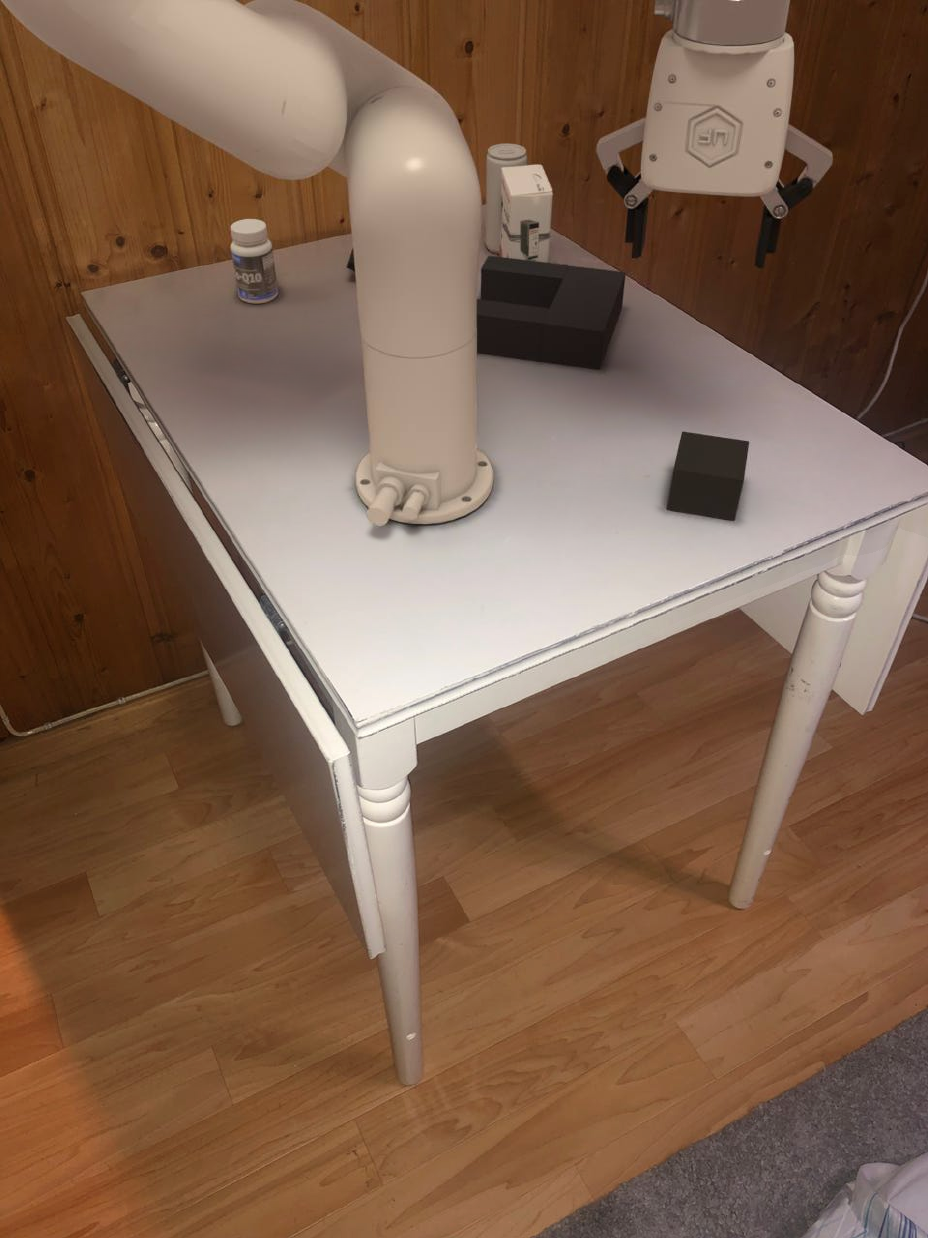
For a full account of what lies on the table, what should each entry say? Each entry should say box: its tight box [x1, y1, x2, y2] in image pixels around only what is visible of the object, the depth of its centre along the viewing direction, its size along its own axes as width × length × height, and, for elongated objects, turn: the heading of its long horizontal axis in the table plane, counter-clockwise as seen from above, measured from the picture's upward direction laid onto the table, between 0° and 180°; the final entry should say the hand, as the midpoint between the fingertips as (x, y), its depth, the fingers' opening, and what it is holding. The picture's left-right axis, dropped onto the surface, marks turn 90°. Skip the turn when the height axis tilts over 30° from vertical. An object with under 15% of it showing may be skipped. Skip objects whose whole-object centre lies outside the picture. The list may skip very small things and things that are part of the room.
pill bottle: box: [230, 218, 279, 305], centre depth 117 cm, size 5×5×8 cm
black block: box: [666, 431, 750, 522], centre depth 91 cm, size 6×6×4 cm
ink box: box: [499, 164, 554, 263], centre depth 119 cm, size 9×5×12 cm, turn 6°
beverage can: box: [485, 143, 528, 255], centre depth 125 cm, size 5×5×12 cm
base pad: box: [477, 255, 627, 371], centre depth 113 cm, size 16×14×4 cm
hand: (698, 255), depth 81 cm, fingers open, 9 cm apart
